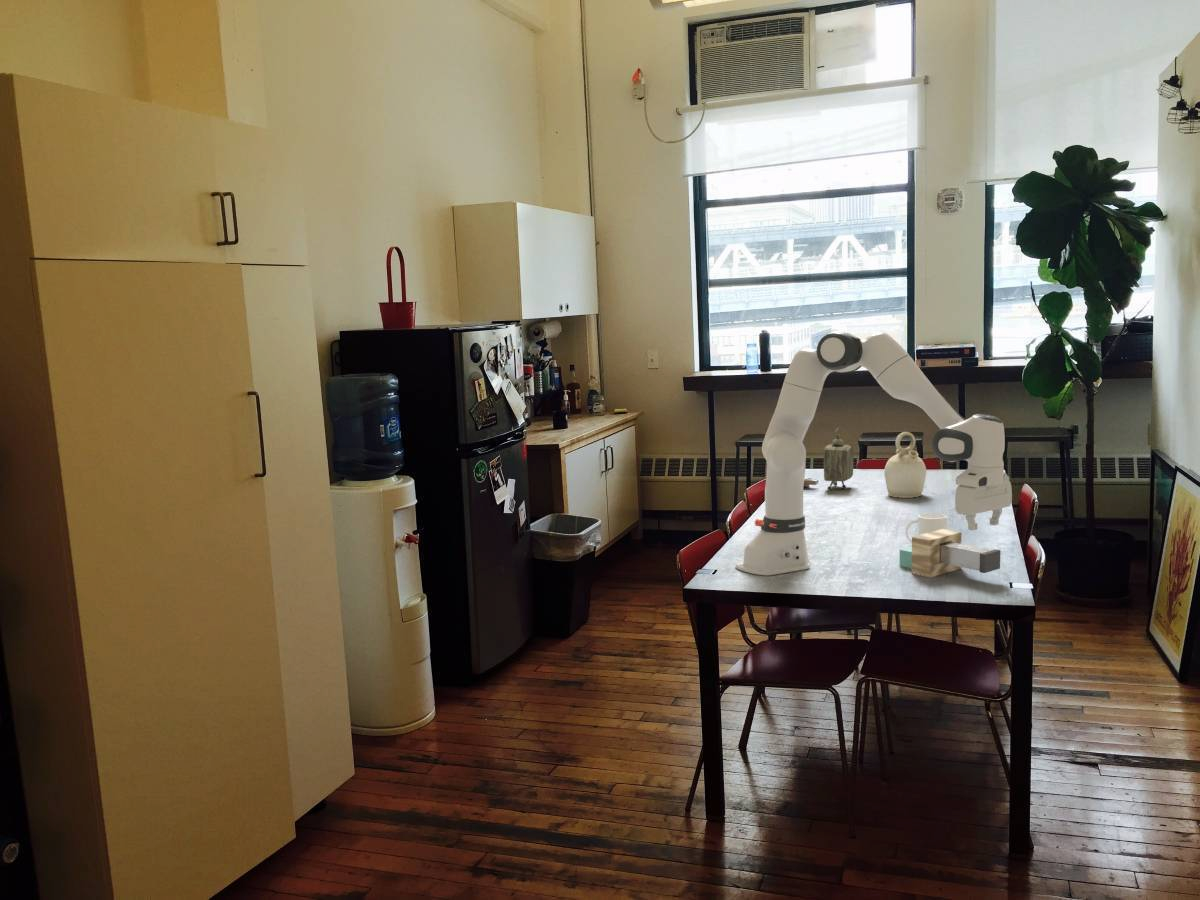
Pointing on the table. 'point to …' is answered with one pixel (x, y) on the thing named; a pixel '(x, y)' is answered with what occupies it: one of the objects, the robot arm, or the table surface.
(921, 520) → the mug
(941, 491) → the table surface
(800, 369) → the robot arm
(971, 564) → the shaft
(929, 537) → the bearing block
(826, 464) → the tabletop clock
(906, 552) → the block
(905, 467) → the jug
